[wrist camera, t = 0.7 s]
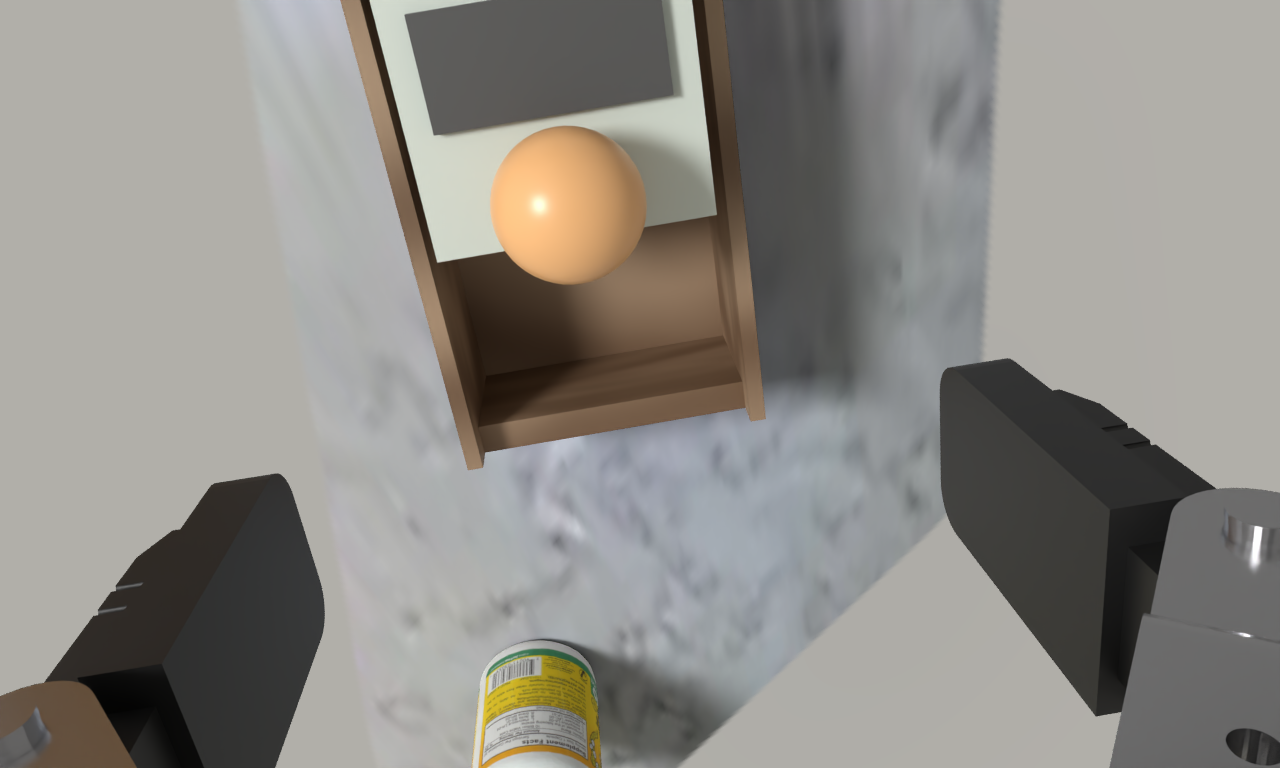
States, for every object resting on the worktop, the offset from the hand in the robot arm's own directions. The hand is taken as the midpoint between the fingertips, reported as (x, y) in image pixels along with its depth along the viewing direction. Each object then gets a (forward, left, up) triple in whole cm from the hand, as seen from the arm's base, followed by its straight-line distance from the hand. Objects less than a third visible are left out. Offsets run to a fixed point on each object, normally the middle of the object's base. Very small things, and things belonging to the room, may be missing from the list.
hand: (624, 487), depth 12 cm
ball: (0, -1, -14) cm, 14 cm away
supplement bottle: (+18, -18, -24) cm, 35 cm away
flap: (-3, +1, -17) cm, 17 cm away
